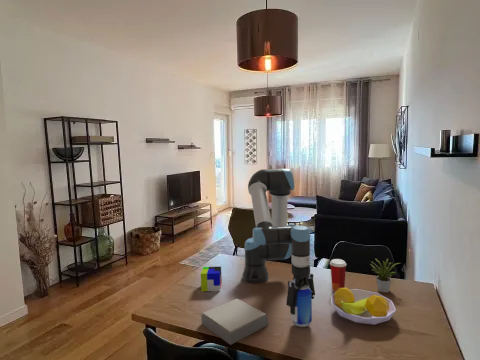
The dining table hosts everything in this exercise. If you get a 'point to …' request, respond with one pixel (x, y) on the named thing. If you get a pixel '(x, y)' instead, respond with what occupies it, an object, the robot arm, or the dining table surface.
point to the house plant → (383, 276)
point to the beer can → (304, 306)
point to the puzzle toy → (211, 279)
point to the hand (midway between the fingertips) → (301, 316)
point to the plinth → (234, 320)
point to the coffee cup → (338, 273)
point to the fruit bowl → (362, 306)
